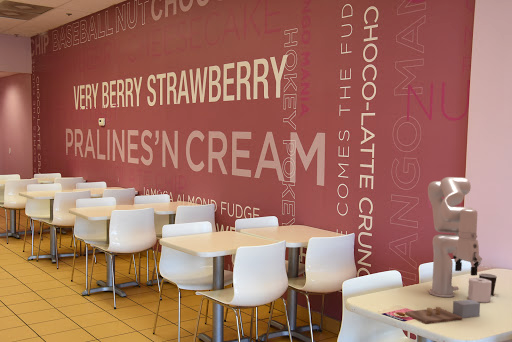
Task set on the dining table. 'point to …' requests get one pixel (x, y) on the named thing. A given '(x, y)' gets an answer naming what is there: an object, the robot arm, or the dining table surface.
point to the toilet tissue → (479, 290)
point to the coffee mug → (491, 278)
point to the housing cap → (466, 308)
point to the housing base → (433, 315)
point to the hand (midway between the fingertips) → (465, 273)
